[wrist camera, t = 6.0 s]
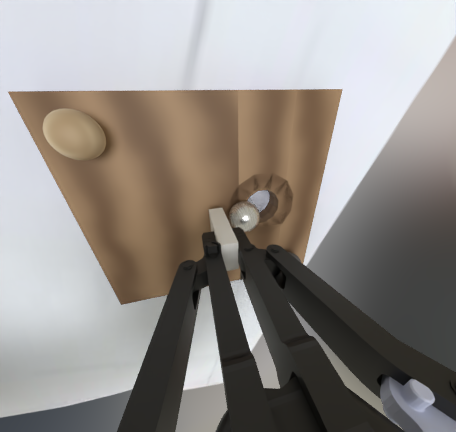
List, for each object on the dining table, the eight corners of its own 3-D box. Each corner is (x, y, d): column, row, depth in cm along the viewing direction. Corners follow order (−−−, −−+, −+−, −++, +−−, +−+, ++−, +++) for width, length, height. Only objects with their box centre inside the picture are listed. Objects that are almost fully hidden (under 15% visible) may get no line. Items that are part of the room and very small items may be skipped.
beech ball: (74, 158, 15) (46, 166, 12) (53, 111, 13) (14, 106, 10) (118, 155, 15) (102, 162, 12) (103, 110, 14) (80, 105, 11)
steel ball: (247, 219, 22) (224, 226, 21) (248, 194, 21) (222, 200, 19) (265, 232, 19) (239, 241, 18) (267, 204, 18) (239, 212, 16)
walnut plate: (126, 289, 26) (121, 304, 23) (34, 97, 14) (7, 91, 12) (294, 256, 31) (302, 265, 28) (324, 93, 19) (342, 89, 17)
